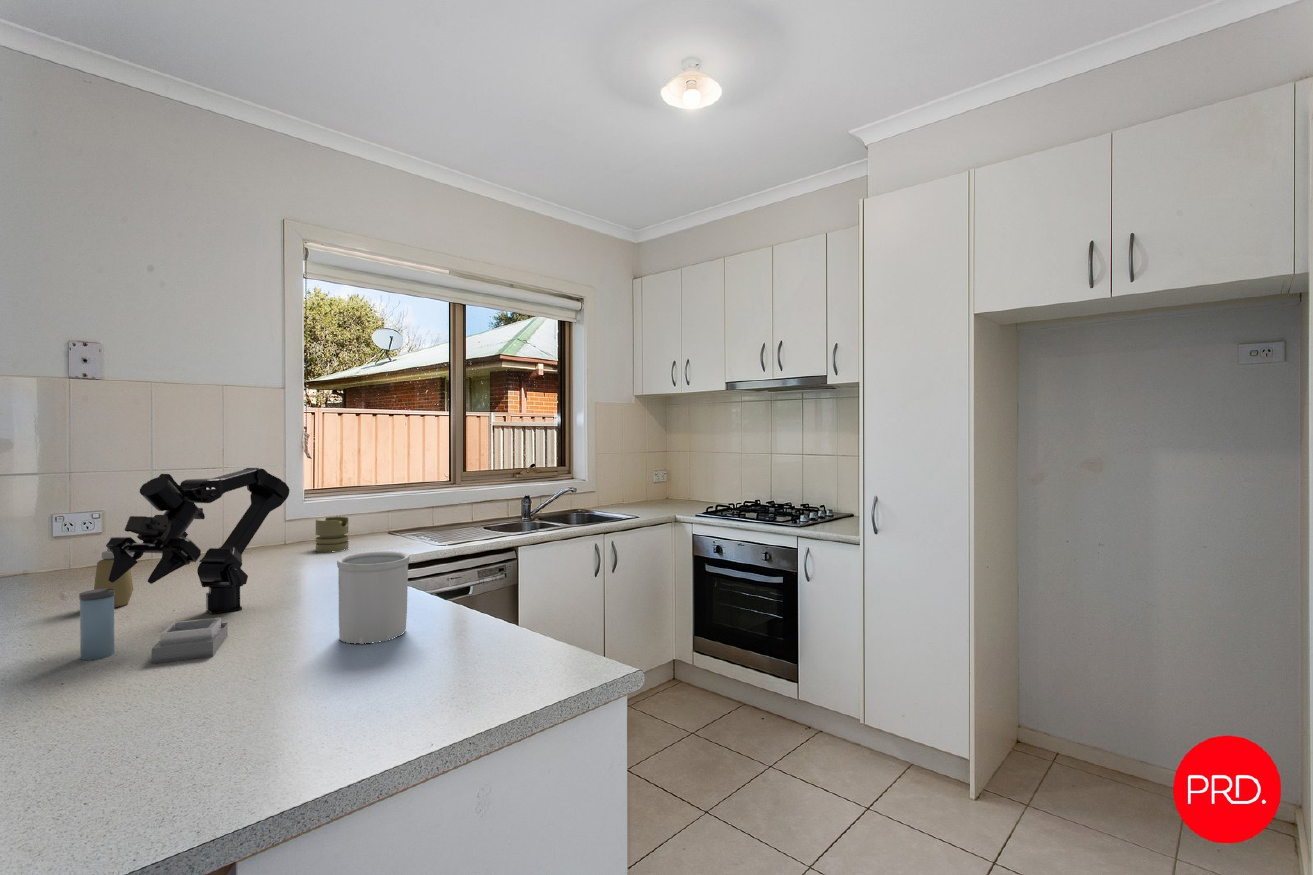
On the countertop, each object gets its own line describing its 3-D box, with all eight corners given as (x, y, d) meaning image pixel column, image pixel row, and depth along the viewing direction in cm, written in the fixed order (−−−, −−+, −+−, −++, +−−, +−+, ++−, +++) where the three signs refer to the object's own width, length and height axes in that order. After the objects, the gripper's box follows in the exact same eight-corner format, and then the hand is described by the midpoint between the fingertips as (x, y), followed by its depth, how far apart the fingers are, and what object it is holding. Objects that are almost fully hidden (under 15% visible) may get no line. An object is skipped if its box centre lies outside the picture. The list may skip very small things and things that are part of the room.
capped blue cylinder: (98, 650, 131) (98, 588, 131) (122, 651, 131) (121, 588, 131) (72, 659, 126) (71, 594, 126) (96, 660, 125) (96, 595, 125)
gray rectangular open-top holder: (172, 642, 136) (172, 619, 136) (227, 636, 140) (227, 613, 140) (151, 663, 124) (151, 638, 123) (213, 656, 128) (212, 631, 128)
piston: (354, 517, 249) (335, 521, 237) (354, 547, 249) (335, 553, 238) (328, 516, 250) (308, 520, 239) (329, 546, 251) (308, 552, 239)
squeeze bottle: (141, 603, 168) (140, 535, 167) (106, 611, 160) (105, 540, 160) (120, 600, 170) (120, 534, 170) (85, 608, 163) (85, 538, 162)
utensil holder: (423, 629, 145) (423, 553, 145) (370, 649, 132) (369, 566, 131) (377, 621, 151) (377, 548, 151) (321, 640, 138) (321, 560, 138)
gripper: (113, 501, 141) (62, 560, 130) (190, 502, 140) (145, 562, 129) (145, 530, 149) (100, 588, 138) (218, 532, 147) (178, 590, 136)
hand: (129, 582), depth 135 cm, fingers open, 9 cm apart
